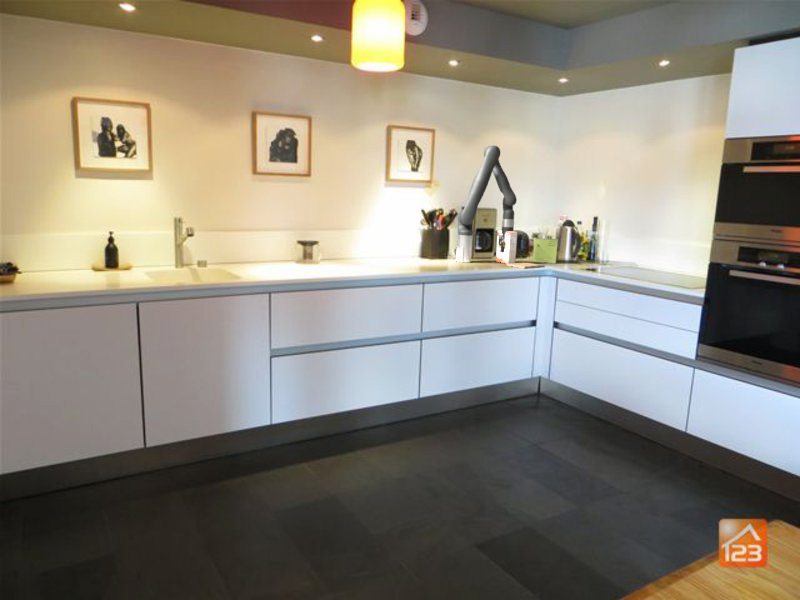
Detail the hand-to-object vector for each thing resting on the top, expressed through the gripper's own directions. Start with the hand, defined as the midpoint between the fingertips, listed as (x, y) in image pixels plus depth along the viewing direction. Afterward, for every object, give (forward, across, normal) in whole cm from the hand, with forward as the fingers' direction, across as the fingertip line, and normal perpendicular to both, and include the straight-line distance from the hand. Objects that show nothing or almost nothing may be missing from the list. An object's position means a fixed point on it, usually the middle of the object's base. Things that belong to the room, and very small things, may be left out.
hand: (505, 251), depth 374 cm
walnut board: (+7, +1, +17) cm, 19 cm away
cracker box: (+7, 0, 0) cm, 7 cm away
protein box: (+8, -35, +6) cm, 36 cm away
